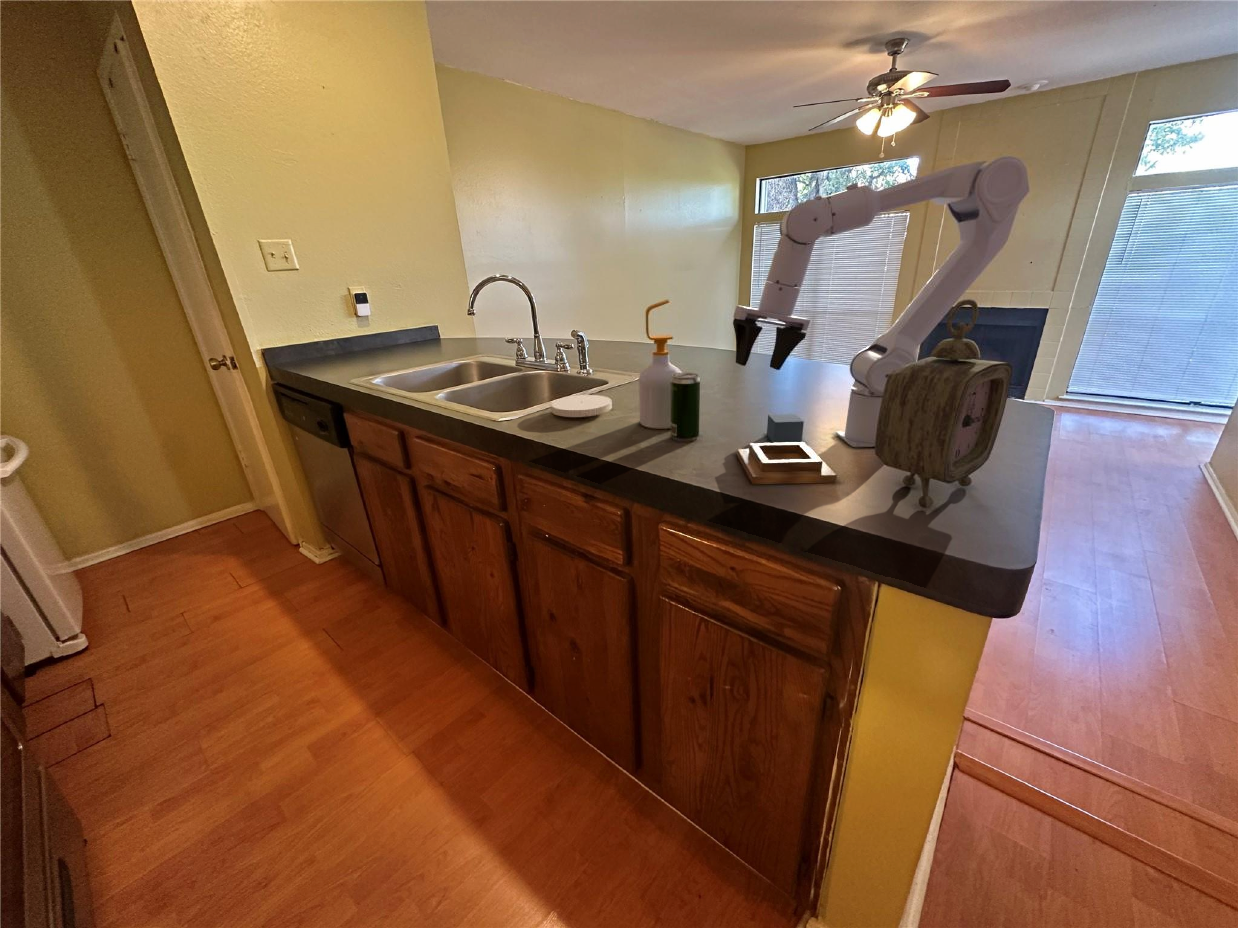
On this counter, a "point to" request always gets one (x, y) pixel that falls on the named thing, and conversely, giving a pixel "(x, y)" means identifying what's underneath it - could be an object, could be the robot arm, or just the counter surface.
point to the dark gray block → (785, 428)
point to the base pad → (784, 464)
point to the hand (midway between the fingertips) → (757, 366)
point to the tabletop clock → (943, 411)
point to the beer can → (685, 406)
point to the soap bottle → (656, 383)
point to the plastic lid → (581, 405)
